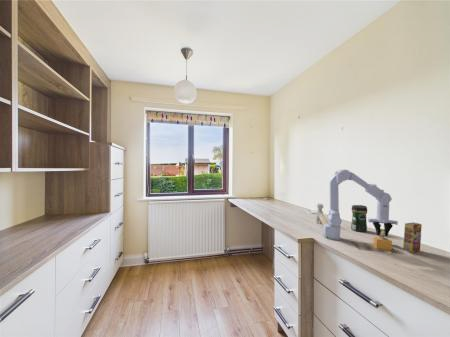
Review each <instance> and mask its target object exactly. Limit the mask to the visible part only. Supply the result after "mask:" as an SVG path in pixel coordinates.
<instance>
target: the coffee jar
mask: <svg viewBox="0 0 450 337" xmlns="http://www.w3.org/2000/svg"><path fill="white" fill-rule="evenodd" d="M351 213H352V216H351V217H352V218H351V225H350V228H351V230H352V231H354V232H355V231H356V232H368V225H367V222H368V221H367V214H368V207H367V206H366V205H362V204H361V205H360V204H353V205H351Z"/></svg>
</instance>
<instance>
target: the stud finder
mask: <svg viewBox="0 0 450 337" xmlns="http://www.w3.org/2000/svg"><path fill="white" fill-rule="evenodd" d="M373 242H374V244H373V246H374V247H375V248H377V249H386V250H392V248H393V247H392V245H393V240H391V239H390V238H388V237H387V238H385V237H384V238H379V237H376V236H374V237H373Z"/></svg>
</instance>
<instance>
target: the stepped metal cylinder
mask: <svg viewBox="0 0 450 337" xmlns="http://www.w3.org/2000/svg"><path fill="white" fill-rule="evenodd" d="M378 236H379V235H378ZM385 237H387V236H386V230H385V229H384V228H380V236H379V237H378V238H385Z"/></svg>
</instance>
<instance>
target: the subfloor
mask: <svg viewBox="0 0 450 337" xmlns="http://www.w3.org/2000/svg"><path fill="white" fill-rule="evenodd" d="M349 241H350V243H351V244H352V245H353V246H354V247H355V248H356V249H358V250H359V251H369V252H377V253H386V254H387V255H389V256H390V255H391V256H395V255H402V253H401V252H400V251H399V250H397V249H396V248H394V247H392V250H386V249H377V248H375V247H374V246H373V244H374V241H371V242H365V241H364V242H362V241H354V240H349Z"/></svg>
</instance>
